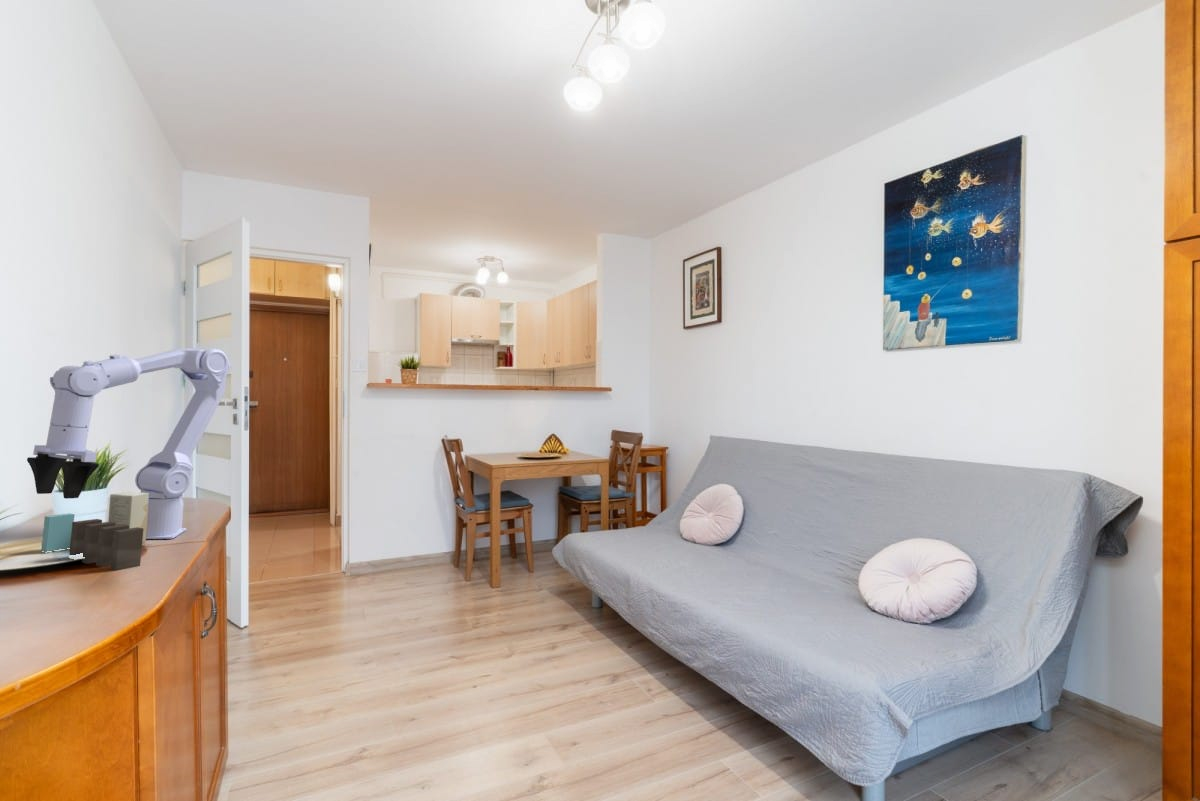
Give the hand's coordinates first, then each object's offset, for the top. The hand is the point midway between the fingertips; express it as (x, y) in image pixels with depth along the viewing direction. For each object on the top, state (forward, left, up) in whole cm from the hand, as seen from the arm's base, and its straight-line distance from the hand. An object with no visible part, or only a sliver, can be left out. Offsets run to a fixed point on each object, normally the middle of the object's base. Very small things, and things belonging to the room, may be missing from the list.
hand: (57, 495), depth 111 cm
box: (-5, +10, -11) cm, 16 cm away
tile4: (+9, +13, -11) cm, 19 cm away
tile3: (+6, +10, -11) cm, 16 cm away
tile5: (+12, +16, -11) cm, 22 cm away
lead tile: (-2, 0, -11) cm, 11 cm away
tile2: (+4, +7, -11) cm, 13 cm away
